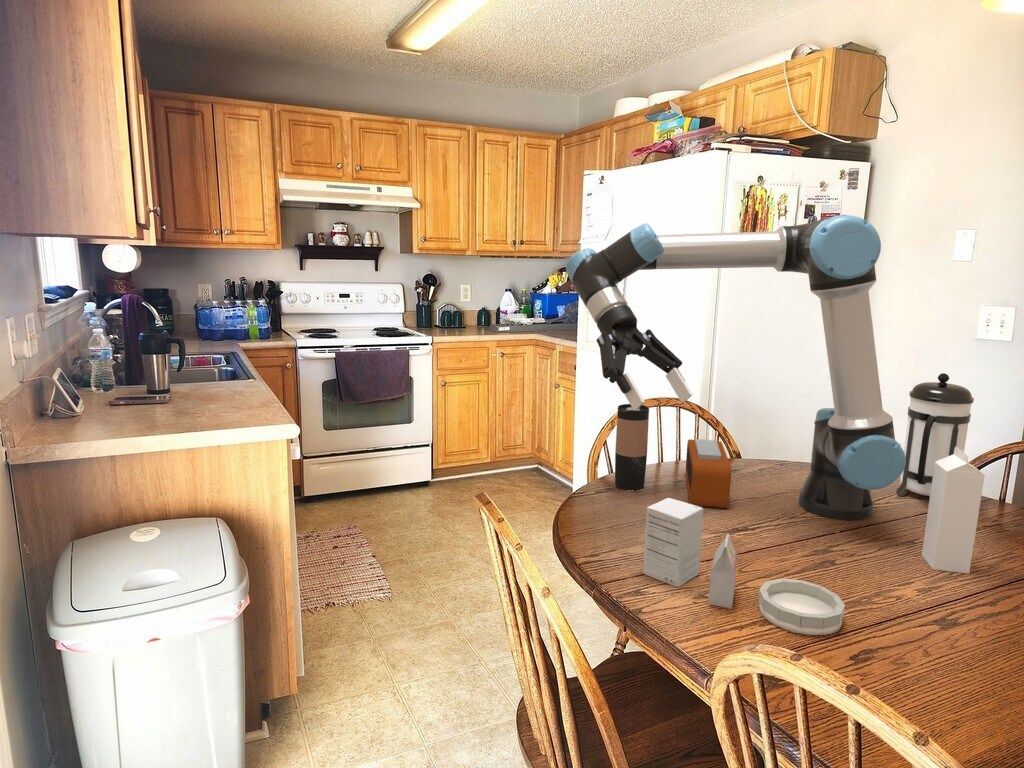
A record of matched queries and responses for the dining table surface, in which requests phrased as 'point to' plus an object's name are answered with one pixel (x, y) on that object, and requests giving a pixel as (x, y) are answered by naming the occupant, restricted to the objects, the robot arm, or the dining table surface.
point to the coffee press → (933, 430)
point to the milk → (952, 514)
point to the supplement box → (672, 541)
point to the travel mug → (631, 447)
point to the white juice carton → (723, 575)
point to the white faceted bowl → (801, 606)
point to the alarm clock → (707, 473)
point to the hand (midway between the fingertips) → (664, 402)
